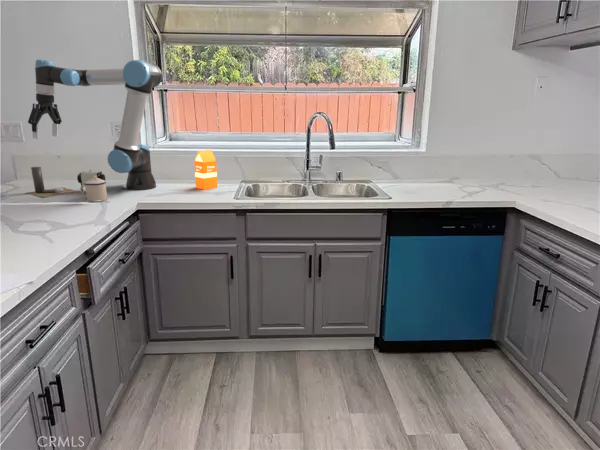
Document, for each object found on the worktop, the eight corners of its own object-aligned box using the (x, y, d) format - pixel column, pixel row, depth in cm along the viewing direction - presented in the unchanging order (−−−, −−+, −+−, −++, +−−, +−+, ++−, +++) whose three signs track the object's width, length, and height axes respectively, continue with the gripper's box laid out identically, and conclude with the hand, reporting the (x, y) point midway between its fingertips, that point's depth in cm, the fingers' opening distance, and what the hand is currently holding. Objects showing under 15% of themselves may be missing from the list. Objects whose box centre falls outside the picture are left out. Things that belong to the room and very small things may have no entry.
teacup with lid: (112, 198, 196) (109, 174, 193) (101, 203, 187) (97, 178, 184) (88, 197, 197) (84, 173, 194) (76, 202, 188) (72, 177, 185)
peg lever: (65, 191, 205) (61, 166, 201) (61, 192, 201) (57, 167, 197) (37, 191, 203) (33, 166, 200) (33, 193, 199) (29, 167, 196)
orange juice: (195, 187, 224) (193, 150, 218) (208, 185, 230) (207, 149, 224) (204, 189, 219) (202, 151, 213) (217, 187, 225) (216, 150, 219)
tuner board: (81, 194, 205) (81, 191, 205) (43, 200, 191) (42, 197, 190) (62, 189, 215) (61, 186, 214) (24, 195, 200) (24, 192, 200)
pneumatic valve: (103, 194, 204) (100, 170, 200) (79, 194, 203) (75, 170, 199) (108, 192, 209) (105, 169, 205) (84, 192, 208) (81, 169, 205)
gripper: (55, 93, 212) (56, 134, 219) (17, 91, 189) (19, 137, 195) (69, 95, 212) (69, 136, 218) (33, 94, 188) (34, 140, 195)
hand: (45, 137), depth 207 cm, fingers open, 13 cm apart
